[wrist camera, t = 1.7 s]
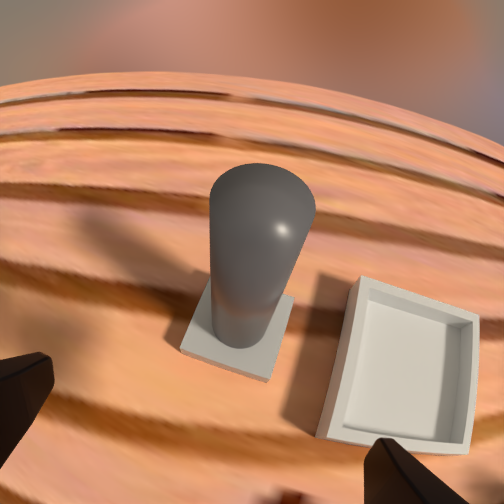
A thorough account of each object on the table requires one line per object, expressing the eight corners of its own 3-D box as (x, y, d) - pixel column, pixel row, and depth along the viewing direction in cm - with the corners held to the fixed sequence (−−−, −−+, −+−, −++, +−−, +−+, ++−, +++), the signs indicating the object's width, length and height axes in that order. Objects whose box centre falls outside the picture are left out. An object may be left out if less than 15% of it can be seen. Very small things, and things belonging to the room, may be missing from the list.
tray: (448, 456, 18) (468, 454, 16) (314, 437, 19) (326, 437, 16) (462, 325, 24) (479, 314, 22) (349, 290, 25) (361, 275, 23)
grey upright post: (266, 382, 20) (333, 306, 9) (181, 353, 21) (140, 241, 10) (290, 305, 24) (355, 171, 12) (212, 280, 24) (214, 129, 13)
